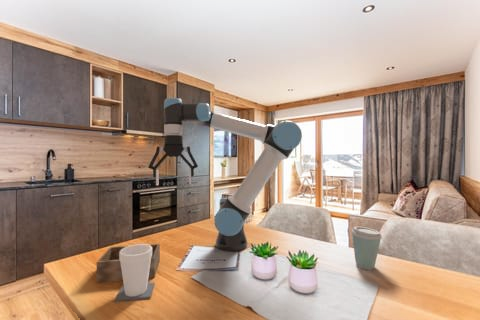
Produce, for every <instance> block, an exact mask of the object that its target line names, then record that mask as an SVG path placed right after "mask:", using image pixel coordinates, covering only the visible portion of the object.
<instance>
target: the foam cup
mask: <svg viewBox="0 0 480 320" xmlns="http://www.w3.org/2000/svg"><path fill="white" fill-rule="evenodd" d="M150 245H151V244H147V243H137V244H131V245H126V246H127V247H125V248H123V249H121V250H120V252H119V260H120V263H121V270H122V277H123V281H122V282H123V285H124V290H125V294H126V295H127V296H138V295H141V294H143V293H144V292H145V291H146V290H147V284H148V283H149V278H148V277H149V270H150V263H151V257H152V246H150Z"/></svg>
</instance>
